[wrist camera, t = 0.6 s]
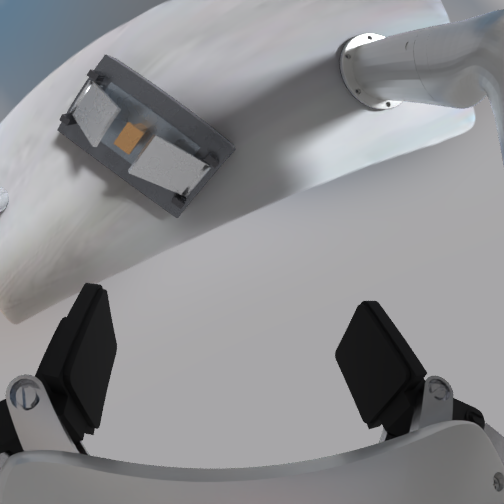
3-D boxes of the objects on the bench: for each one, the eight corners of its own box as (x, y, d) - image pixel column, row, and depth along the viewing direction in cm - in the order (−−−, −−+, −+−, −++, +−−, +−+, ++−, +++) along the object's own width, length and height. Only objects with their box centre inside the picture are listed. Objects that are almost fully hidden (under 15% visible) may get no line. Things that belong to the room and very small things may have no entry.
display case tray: (116, 58, 28) (92, 49, 21) (233, 145, 36) (237, 154, 29) (70, 126, 31) (41, 134, 24) (180, 207, 40) (173, 231, 33)
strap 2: (209, 163, 33) (213, 168, 33) (184, 193, 35) (188, 198, 34) (153, 132, 26) (156, 136, 25) (127, 169, 27) (129, 174, 27)
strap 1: (75, 113, 27) (68, 111, 26) (95, 81, 26) (89, 78, 24) (98, 147, 26) (90, 146, 24) (123, 110, 24) (115, 107, 23)
